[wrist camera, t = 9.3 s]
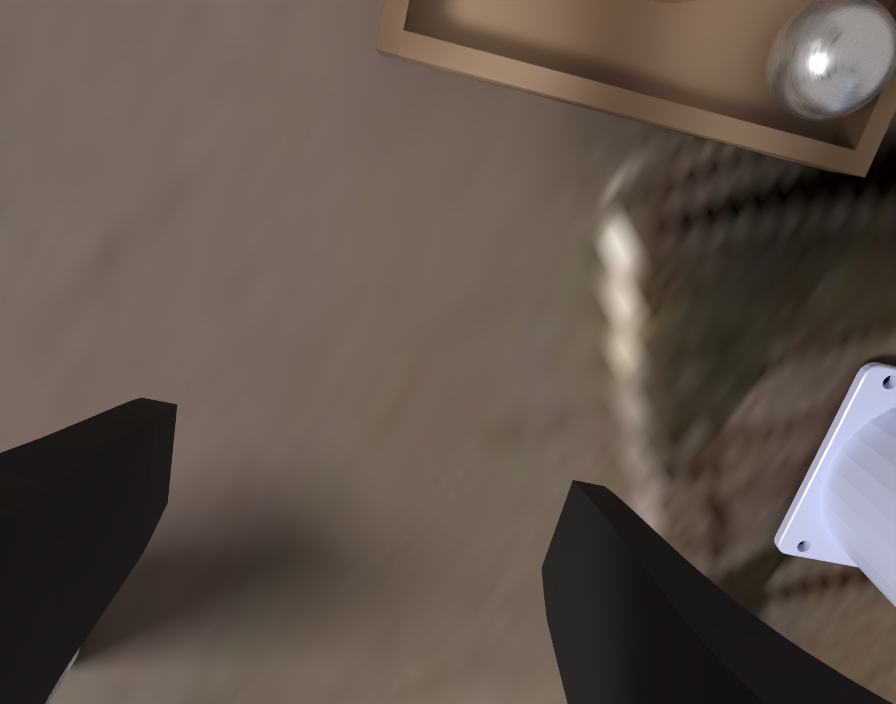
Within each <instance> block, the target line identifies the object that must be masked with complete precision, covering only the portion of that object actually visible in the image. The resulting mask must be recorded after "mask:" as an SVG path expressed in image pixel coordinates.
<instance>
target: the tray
mask: <svg viewBox="0 0 896 704" xmlns="http://www.w3.org/2000/svg"><path fill="white" fill-rule="evenodd" d="M813 1H815V0H693V1H689V2H684V3H662V2H657V1H653V0H384V5H383V11H382V16H381V22H380V27H379V33H378V39H377V44H376V50H377V51H378V52H379V53H380V54H381V55H385V56H389V57H393V58H397V59H400V60H404V61H408V62H412V63H416V64H420V65H423V66H427V67H431V68H435V69H439V70H443V71H446V72H450V73H454V74H458V75H462V76H466V77H469V78H473V79H477V80H481V81H485V82H489V83H492V84H496V85H500V86H504V87H508V88H512V89H515V90H519V91H523V92H527V93H531V94H535V95H538V96H542V97H546V98H550V99H554V100H558V101H561V102H565V103H569V104H573V105H577V106H581V107H584V108H588V109H592V110H596V111H600V112H604V113H607V114H611V115H615V116H619V117H623V118H627V119H630V120H634V121H638V122H642V123H646V124H650V125H653V126H657V127H661V128H665V129H669V130H673V131H676V132H680V133H684V134H688V135H692V136H696V137H699V138H703V139H707V140H711V141H715V142H719V143H722V144H726V145H730V146H734V147H738V148H742V149H745V150H749V151H753V152H757V153H761V154H765V155H768V156H772V157H776V158H780V159H784V160H788V161H791V162H795V163H799V164H803V165H807V166H811V167H814V168H818V169H822V170H827V171H832V172H838V173H844V174H849V175H855V176H860V177H865V176H866V174H867V172H868V170H869V168H870V165H871V163H872V161H873V159H874V157H875V154H876V152H877V150H878V148H879V146H880V143H881V141H882V139H883V137H884V135H885V132H886V130H887V128H888V126H889V124H890V121H891V119H892V117H893V115H894V113H895V110H896V67H895V69H894V72H893V74H892V76H891V78H890V79H889V81H888V82H887V84H886V85H885V87H884V88H883V89H882V90H881V91H880V92H879V93H878V95H877V96H876V97H875V98H873V99H872V100H871V101H870V102H869V103H868V104H866V105H865V106H863V107H862V108H860V109H858V110H857V111H855V112H853V113H851V114H848V115H846V116H843V117H840V118H836V119H832V120H823V121H813V120H807V119H802V118H799V117H796V116H794V115H792V114H790V113H788V112H786V111H785V110H784V109H782V108H781V107H780V106H779V105H778V103H777V102H776V101H775V100H774V98H773V97H772V95H771V93H770V91H769V89H768V85H767V81H766V71H765V69H766V60H767V55H768V52H769V48H770V46H771V44H772V41H773V39H774V38H775V36H776V34H777V32H778V31H779V30H780V28H781V27H782V26H783V25H784V23H785V22H786V21H787V20H788V19H789V18H790V17H791V16H792V15H793V14H794V13H796V12H797V11H798V10H800V9H801V8H803V7H804V6H806V5H807V4H809V3H811V2H813ZM876 1H877V2H879V3H881V4H882V5H883V6H884V7H885V8H886V9H887V10H888V11H889V12H890V14H891V15H892V16H893V18H894V20H895V22H896V0H876Z"/></svg>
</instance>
